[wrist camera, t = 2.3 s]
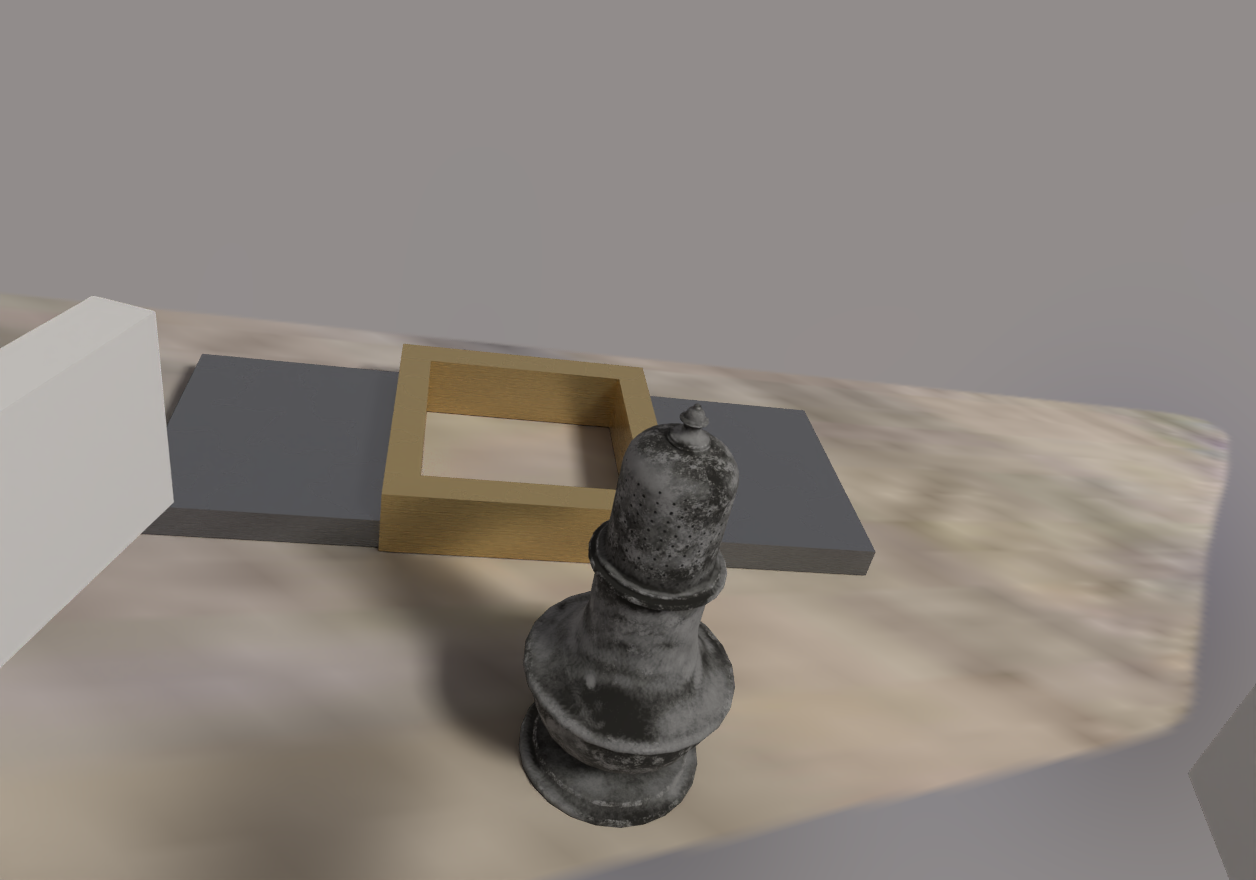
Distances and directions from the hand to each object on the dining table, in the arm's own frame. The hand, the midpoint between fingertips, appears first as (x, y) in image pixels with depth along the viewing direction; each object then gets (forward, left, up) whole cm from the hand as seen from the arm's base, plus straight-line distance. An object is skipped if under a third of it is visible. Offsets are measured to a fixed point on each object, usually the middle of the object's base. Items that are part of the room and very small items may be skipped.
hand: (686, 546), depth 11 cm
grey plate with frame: (-12, +20, -16) cm, 28 cm away
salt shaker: (-3, +10, -16) cm, 19 cm away
